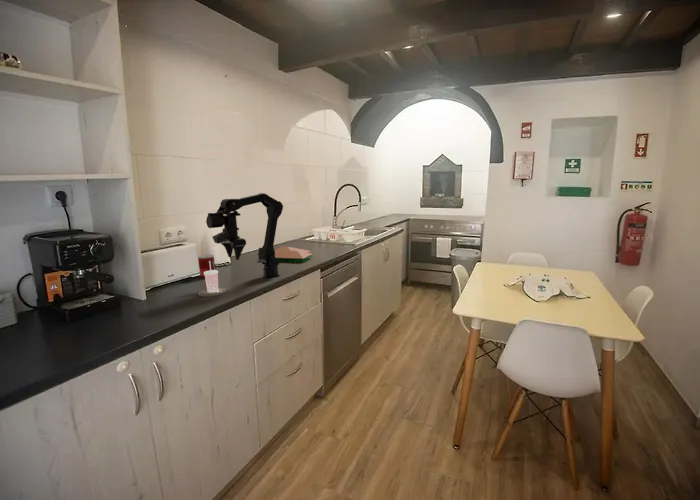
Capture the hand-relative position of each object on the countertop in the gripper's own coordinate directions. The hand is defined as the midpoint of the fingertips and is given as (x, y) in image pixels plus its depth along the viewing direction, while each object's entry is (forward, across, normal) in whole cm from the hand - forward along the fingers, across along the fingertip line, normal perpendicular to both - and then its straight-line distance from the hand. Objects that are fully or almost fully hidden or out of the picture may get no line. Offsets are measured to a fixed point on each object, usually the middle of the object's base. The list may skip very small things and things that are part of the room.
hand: (233, 258), depth 170 cm
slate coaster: (+13, +5, -13) cm, 19 cm away
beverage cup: (+12, +5, -13) cm, 19 cm away
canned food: (+13, -28, -4) cm, 31 cm away
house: (+14, -36, +50) cm, 63 cm away
